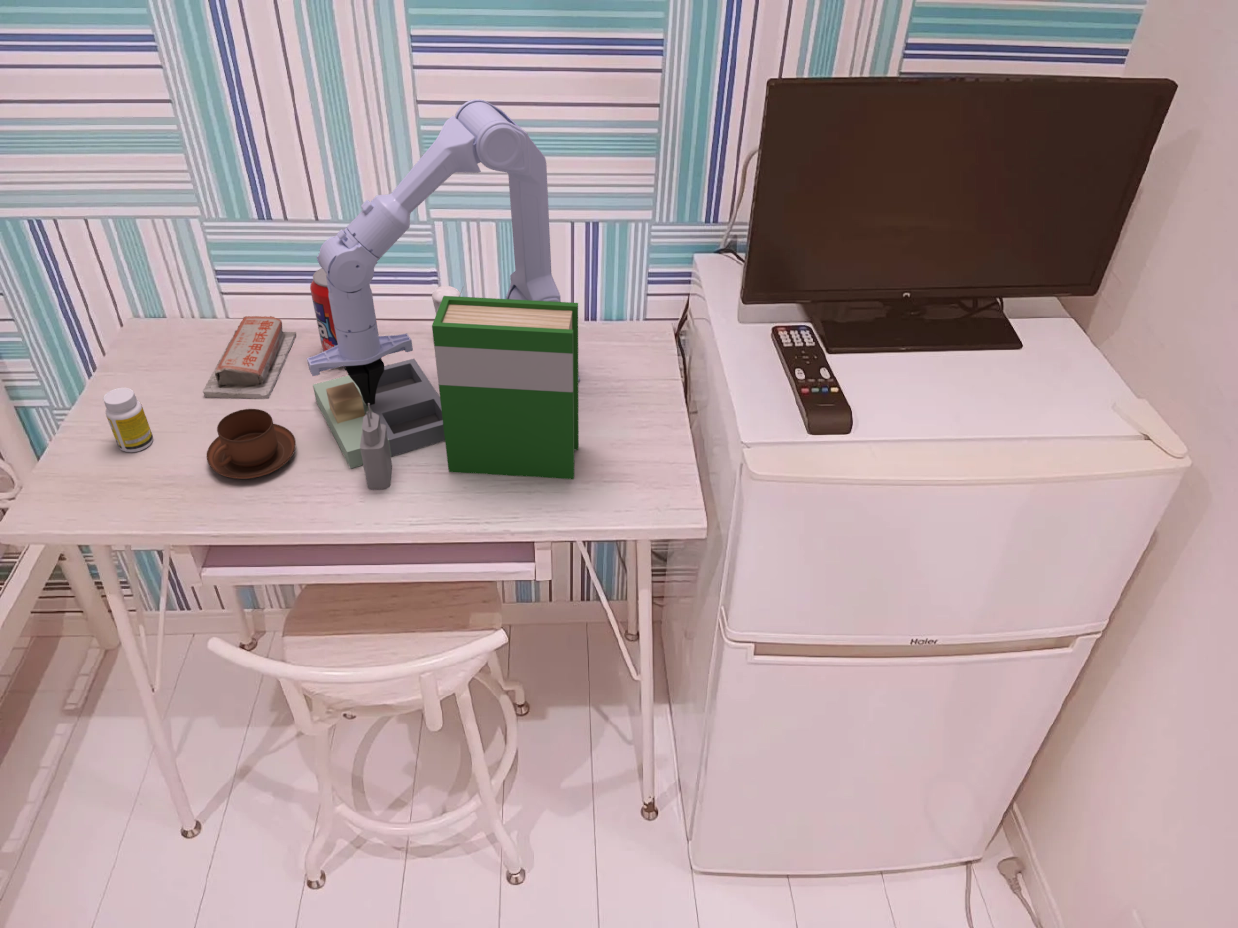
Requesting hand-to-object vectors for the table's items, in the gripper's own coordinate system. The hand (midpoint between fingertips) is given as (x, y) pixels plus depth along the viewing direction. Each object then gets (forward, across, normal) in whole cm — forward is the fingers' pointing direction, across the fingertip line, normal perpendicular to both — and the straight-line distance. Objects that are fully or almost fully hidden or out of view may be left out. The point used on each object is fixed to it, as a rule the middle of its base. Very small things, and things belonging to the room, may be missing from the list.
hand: (368, 401), depth 144 cm
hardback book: (+4, -16, +17) cm, 24 cm away
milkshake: (+4, -19, -16) cm, 25 cm away
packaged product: (+4, +12, -23) cm, 26 cm away
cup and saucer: (+4, +17, 0) cm, 18 cm away
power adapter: (+4, +3, +12) cm, 13 cm away
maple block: (+1, +3, 0) cm, 3 cm away
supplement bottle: (+4, +32, -10) cm, 34 cm away
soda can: (+4, -2, -18) cm, 19 cm away
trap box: (+4, -2, 0) cm, 4 cm away
